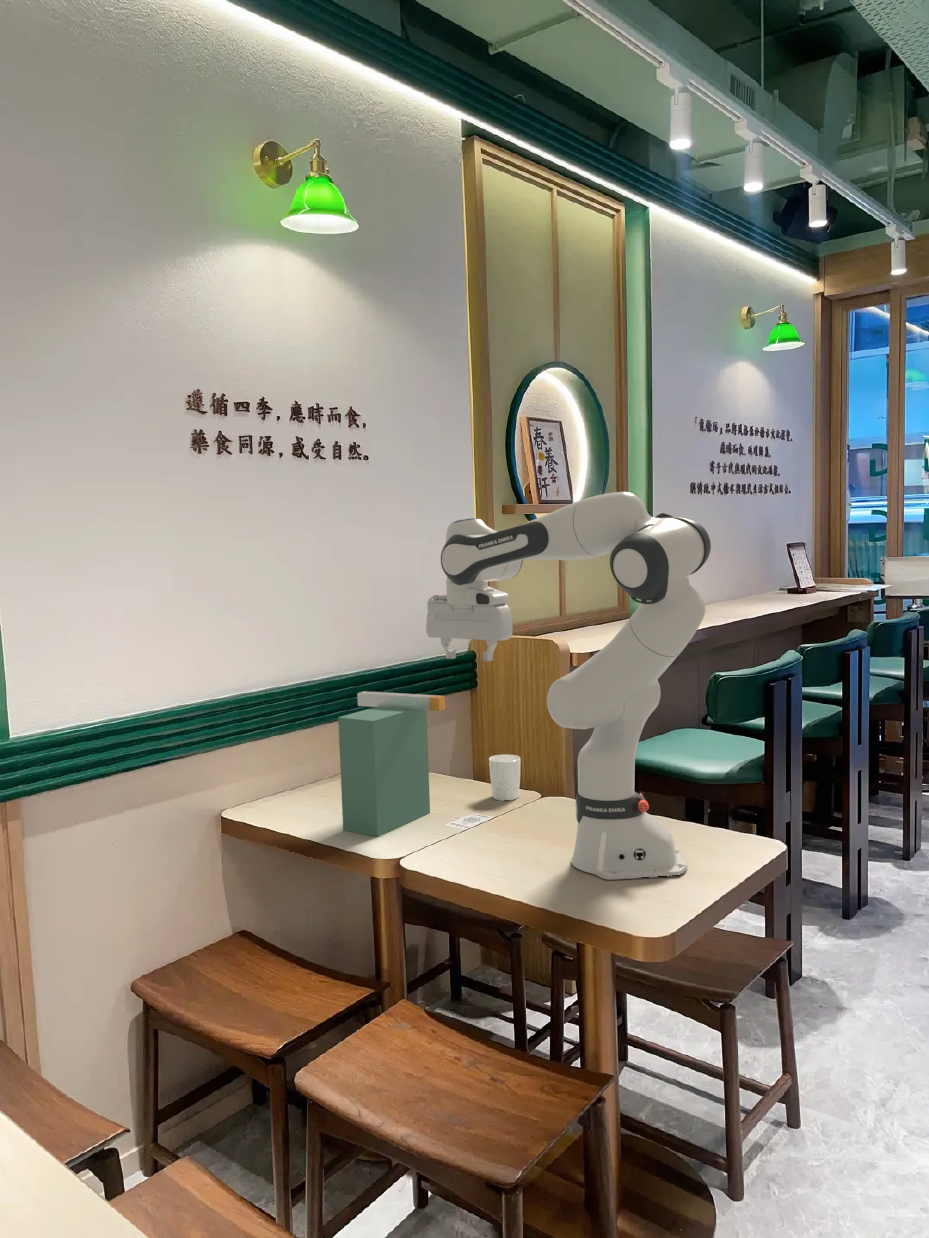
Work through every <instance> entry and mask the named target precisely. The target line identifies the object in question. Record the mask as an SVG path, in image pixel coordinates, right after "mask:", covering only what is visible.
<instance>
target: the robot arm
mask: <svg viewBox="0 0 929 1238" xmlns="http://www.w3.org/2000/svg"><path fill="white" fill-rule="evenodd" d="M445 536H446V537H445V544H444V546H443V548H442V550H441V553H440V565H441V569H442V571H443V573H444V574H445V576H446V580H445V584H446V594H442V595H440V594H439V595H438V594H434V595H432V596H431V597H430V598H429V599H428V600H427V604H426V605H427V615H426V626H425V628H426V629H425V631H426V634H427V636H428V638H434V639H435V638H436V639H437V638H438V639H440V644H441V645H442V648H443V650H444V651H445V658H446V659H447V660H449V659H450V660H453V659H456V658H457V655H456V653H457V650H455V649H453V648H452V645H451V643H452V639H455V640H456V639H460V640H461V639H462V640H482V641H483V640H484V641H485V640H486V645H487V646H488V647H487V649H486V651H485V652H482V661H484V662H492V661H493V660H494V651H495V649H496V648H497V646H498V641H502V642H503V641H507V640H510V639H511V638H512V636H513V632H514V631H513V630H514V629H513V628H514V627H513V618H512V612H511V611H512V610H511V609H510V606H508V603H509V601H510V596H509V594H508V592H504V591H501V590H499V589H496V588H494V587H491V586H488V585H489V584H488V582H494V581H495V582H496V581H506V580H509V579H512V578H514V577H516V576H517V575H518V574H519V573H520V571H521V569H522V566H523V562H524V561H526V560H527V561H528V560H546V561H547V560H549V561H551V560H552V561H582V560H589V559H594V558H599V557H602V556H606V555H609V554H610V556H609V568H610V572H611V574H612V577H613V578H614V580H615V582H616V583H617V585H618V586H619V587H620V588H621V589H622V590H623V591H624V592H625V593H626V594H628V595H629V596H630V598H631V599H632V601H634V602H636V603H639V604H640V605H639V606H638V607H637V608H636V610H635V611H634V613H632V615H631V616H630V617H629V619H628V620H627V621H626V622H625V624H624V625H623V626H622V628H621V629H619V631H618V633H617V634H616V635H615V636H614V637H613V638H612V640H610V641H609V643H607V644H606V645H605V646H604V647H602V648H601V650H598V651H597V652H596V653H595V654H593V656H591V657H590V658H589V659H587V660H586V661H585V662H583V663H582V664H581V665H579V666H578V667H577V668H575V669H574V670H572V671H571V672H570V673H569V672H568V674H566V675H564V676H562V677H560V678H558V679H555V681H553V682H552V684H551V685H550V686H549V689H548V692H547V694H546V695H547V697H546V705H547V710H548V712H549V715H550V717H551V718H552V720H553V721H554V722H555V724H556V725H558V726H559V727H561V728H564V729H576V730H588V729H593V730H592V731H593V732H592V734H591V736H590V738H589V740H588V741H587V742H586V743H585V744H584V745H583V746H582V748H581V749H580V750H579V753H578V755H577V792H576V796H575V818H576V821H577V826H576V827H577V828H576V836H575V844H574V850H573V854H572V857H571V864H572V866H573V867H574V868H576V869H578V870H580V871H582V872H586V873H589V874H592V875H596V876H598V877H599V878H601V879H602V880H603V879H604V880H608V881H609V880H610V881H614V880H626V879H627V880H629V879H642V878H641V877H649V878H659V877H658V876H667V877H673V876H672V875H679V874H682V873H683V872H684V871H686V872H687V870H688V863H687V862H688V861H687V858H686V856H685V855H684V853H683V852H682V851H681V850H679V849H677V848H676V845H675V840H674V838H673V835H672V833H671V832H670V830H669V828H668V827H667V826H666V825H664V824H663V823H661V821H659V820H658V819H656V818H654V817H653V815H651V814H650V813H647V812H648V810H649V808H650V806H649V802H648V801H647V800H646V798H645V796H643V793H641V792H639V793H638V792H637V791H635V776H636V775H635V771H636V770H635V767H636V754H637V753H636V752H637V749H638V744H639V740H640V738H641V734H642V732H643V729H644V727H645V724H646V722H647V721H648V718H649V717H650V715H651V714H652V713H653V712H654V711H655V710H656V708H657V707H658V706H659V703H660V700H661V695H662V692H661V685H660V683H659V681H658V679H660V677H661V676H662V675H663V674H664V673H665V671H667V670H668V668H669V667H670V666H671V665H672V663H673V662H674V661H675V660H676V659H677V657H679V655H680V654H681V653H682V652H683V651H684V649H685V648H687V645H688V644H689V643H690V641H691V640H692V639H693V637H694V636H695V634H696V632H697V630H699V627H700V625H701V623H702V621H703V620H704V617H705V613H706V605H705V601H704V599H703V597H702V595H701V594H700V593H699V592H698V591H697V590H696V589H695V588H694V587H692V585H691V583H690V580H689V576H690V575H693V574H695V573H696V572H698V571H699V570H700V569H701V568H702V567H703V566H704V565H705V563H706V562H707V561H708V559H709V558H710V553H711V548H712V547H711V546H712V544H711V538H710V536H709V533H708V532H707V530H706V528H704V527H703V525H701V524H700V523H699V522H697V521H695V520H692V519H689V518H684V517H681V516H680V517H678V516H675V515H671V514H669V513H665V512H660V513H659V514H657V515H656V516H655V517H654V516H652V515H650V514H649V513H648V510H647V508H646V505H645V504H644V502H643V501H642V499H641V498H640V497H638V496H637V495H636V494H634V493H632V492H628V491H616V492H609V493H608V492H607V493H603V494H597V495H594V496H590V497H586V498H584V499H581V500H578V501H575V502H573V503H570V504H568V505H565V506H563V507H561V508H559V509H555V510H554V511H552V512H549V513H547V514H545V515H542V516H540V517H537V518H535V519H532V520H530V521H528V522H525V523H523V524H520V525H516V526H514V527H510V528H506V529H504V530H500V531H497V530H495V529H493V528H491V527H489V526H488V525H487V524H486V523H485V522H484V521H483V520H482V519H480V518H476V517H475V518H474V517H473V518H465V519H459V520H455V521H453V522H452V523H450V524H449V525H448V527H447V530H446V533H445ZM686 869H687V870H686ZM670 875H671V876H670ZM682 875H683V874H682Z"/></svg>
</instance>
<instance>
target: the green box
mask: <svg viewBox="0 0 929 1238" xmlns="http://www.w3.org/2000/svg"><path fill="white" fill-rule="evenodd" d="M427 711H428V710H416V709H400V708H385V707H371V708H368V709H364V710H363V709H362V710H360V711H355V712H353V713H349V714H346V715H342V716H338V718H337V719H338V723H337V724H338V735H339V736H338V743H339V764H340V765H339V766H340V769H339V770H340V785H341V786H340V787H341V788H340V791H341V807H342V808H341V810H342V814H341V815H342V831H345V832H350V833H355V834H360V835H365V836H366V835H367V836H370V837H371V836H372V837H375V836H376V838H378V837H381V836H383V835H385V834H387V833H389V832H391V831H395V830H396V829H398V828H400V827H403V826H404V825H407V824H409V823H411V822H415V820H418V819H420V818H422V817H425V816H426V815H428V814H431V800H430V799H431V798H430V797H431V796H430V777H429V776H430V773H429V768H430V767H429V747H428V746H429V744H428V743H429V742H428V739H429V738H428V717H427V716H428V715H427V714H428V713H427ZM382 834H383V835H382ZM380 835H381V836H380Z"/></svg>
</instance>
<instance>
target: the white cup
mask: <svg viewBox="0 0 929 1238" xmlns="http://www.w3.org/2000/svg"><path fill="white" fill-rule="evenodd" d="M488 761H489V762H488V763H489V764H488V766H489V776H490V777H489V778H490V785H491V796H492V798H493V800H496V801H503V802H504V800H509V801H514V799H515V800H517V799H519V798H520V786H521V785H520V784H521V756H519V755H516V754H507V753H506V754H504V753H503V754H496V755H492V756H489V757H488ZM518 797H519V798H518Z"/></svg>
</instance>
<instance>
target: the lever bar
mask: <svg viewBox="0 0 929 1238" xmlns="http://www.w3.org/2000/svg"><path fill="white" fill-rule="evenodd" d="M356 695H357V706H358V707H371V708H374V707H385V708H400V709H416V710H427V711H435V712H441V711H442V710H445V709H446V695H437V694H434V695H433V694H422V693H421V694H418V693H399V692H385V691H384V692H382V691H366V690H364V691H360V692H358V693H356Z"/></svg>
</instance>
